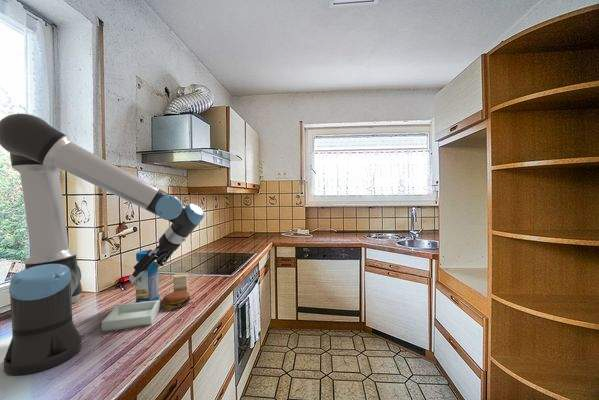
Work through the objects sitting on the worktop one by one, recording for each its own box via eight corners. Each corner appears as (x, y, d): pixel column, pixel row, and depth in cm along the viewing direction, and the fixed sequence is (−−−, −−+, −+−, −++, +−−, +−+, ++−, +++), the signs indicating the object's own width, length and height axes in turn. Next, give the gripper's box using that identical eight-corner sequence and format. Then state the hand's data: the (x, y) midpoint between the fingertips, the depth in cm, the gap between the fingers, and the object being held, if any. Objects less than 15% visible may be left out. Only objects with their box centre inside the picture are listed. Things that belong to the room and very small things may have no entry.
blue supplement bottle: (161, 302, 109) (159, 252, 108) (136, 308, 104) (134, 255, 103) (158, 296, 115) (156, 248, 115) (134, 301, 111) (132, 251, 110)
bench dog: (187, 297, 114) (186, 275, 113) (173, 298, 112) (173, 276, 112) (188, 293, 118) (187, 272, 118) (175, 294, 117) (175, 273, 117)
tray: (151, 324, 90) (151, 315, 90) (101, 331, 86) (101, 322, 86) (160, 307, 104) (160, 299, 104) (117, 313, 100) (117, 304, 100)
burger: (156, 309, 103) (156, 296, 103) (173, 299, 112) (172, 288, 112) (180, 311, 101) (179, 298, 101) (195, 301, 110) (194, 289, 110)
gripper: (160, 250, 95) (123, 293, 100) (195, 240, 115) (164, 276, 120) (146, 235, 96) (111, 278, 101) (184, 227, 116) (153, 263, 121)
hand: (139, 277), depth 110 cm, fingers closed on blue supplement bottle, 8 cm apart
